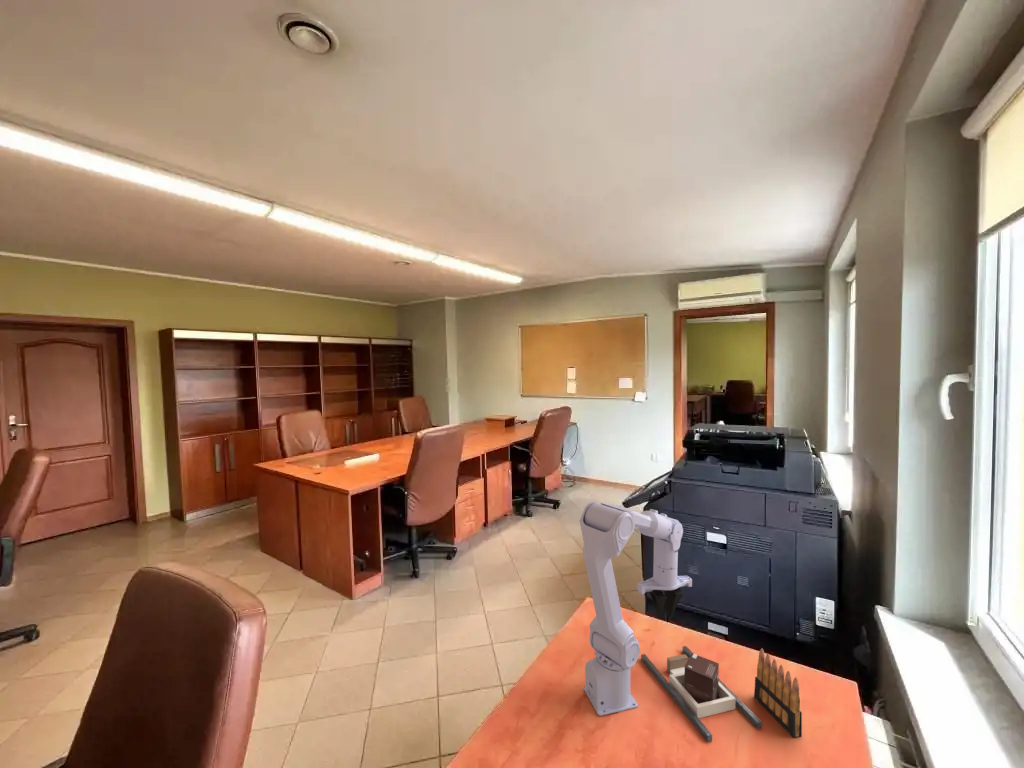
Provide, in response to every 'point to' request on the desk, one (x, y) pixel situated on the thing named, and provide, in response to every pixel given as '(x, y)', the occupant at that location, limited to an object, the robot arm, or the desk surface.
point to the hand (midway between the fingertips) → (664, 616)
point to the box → (701, 678)
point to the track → (686, 708)
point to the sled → (701, 710)
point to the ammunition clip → (778, 694)
